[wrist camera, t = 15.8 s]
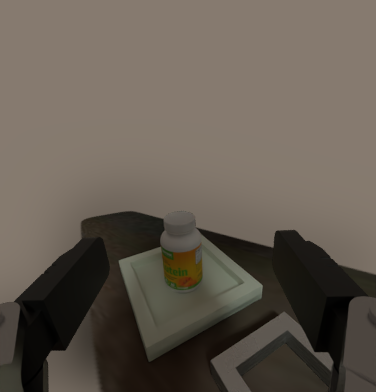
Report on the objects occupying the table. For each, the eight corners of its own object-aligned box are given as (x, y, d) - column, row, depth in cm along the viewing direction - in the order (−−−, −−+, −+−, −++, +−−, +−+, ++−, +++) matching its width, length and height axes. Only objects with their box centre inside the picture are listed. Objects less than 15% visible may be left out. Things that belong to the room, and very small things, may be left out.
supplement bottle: (157, 288, 27) (149, 224, 24) (174, 263, 32) (169, 207, 28) (195, 298, 25) (191, 230, 22) (207, 270, 30) (205, 211, 27)
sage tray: (200, 242, 38) (200, 233, 38) (261, 297, 26) (262, 285, 25) (120, 271, 32) (118, 260, 31) (148, 362, 19) (146, 348, 19)
